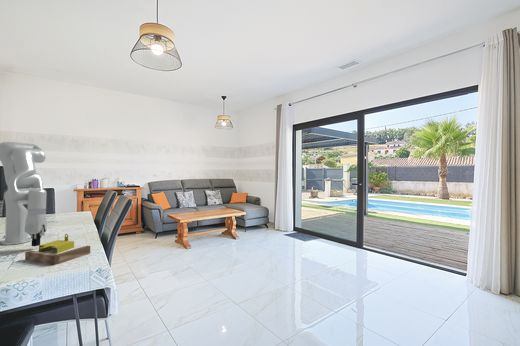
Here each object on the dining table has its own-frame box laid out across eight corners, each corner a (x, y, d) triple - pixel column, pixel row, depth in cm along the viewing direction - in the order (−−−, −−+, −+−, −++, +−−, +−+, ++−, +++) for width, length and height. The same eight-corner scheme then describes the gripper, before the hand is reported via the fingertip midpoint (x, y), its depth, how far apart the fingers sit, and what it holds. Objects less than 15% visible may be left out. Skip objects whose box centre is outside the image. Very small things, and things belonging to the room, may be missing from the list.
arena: (25, 260, 118) (25, 251, 118) (63, 249, 135) (63, 242, 135) (54, 264, 113) (54, 256, 113) (90, 253, 130) (90, 245, 130)
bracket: (26, 240, 126) (54, 233, 141) (26, 255, 126) (53, 247, 141) (54, 241, 125) (79, 234, 139) (54, 257, 124) (78, 248, 139)
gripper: (19, 212, 134) (17, 246, 133) (39, 213, 130) (37, 249, 129) (34, 210, 141) (33, 242, 141) (54, 211, 137) (53, 245, 137)
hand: (35, 245), depth 135 cm, fingers closed
